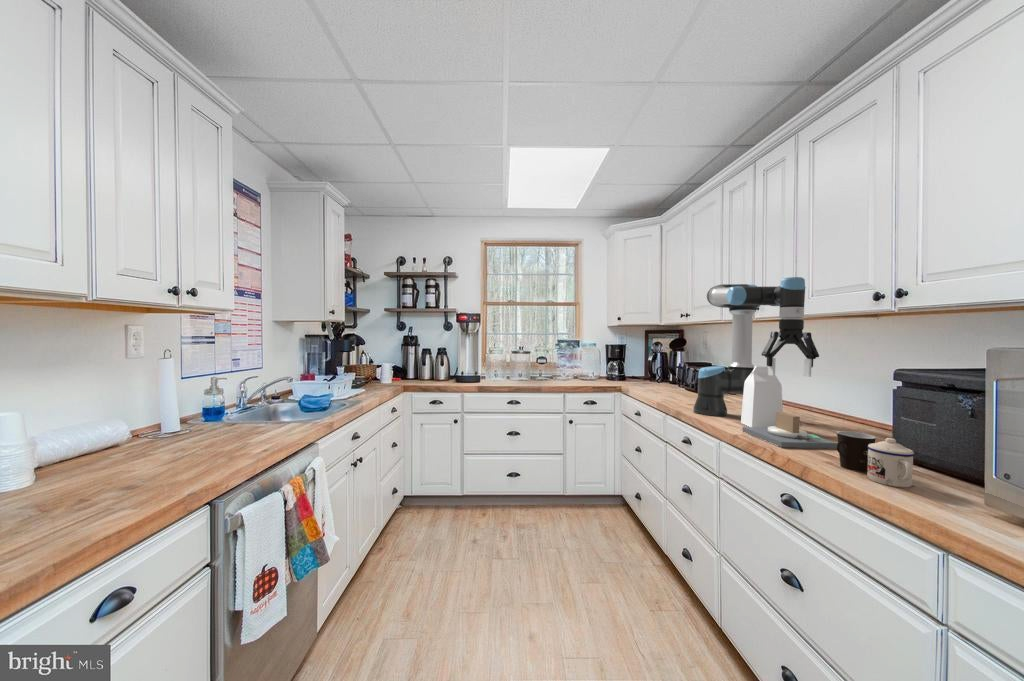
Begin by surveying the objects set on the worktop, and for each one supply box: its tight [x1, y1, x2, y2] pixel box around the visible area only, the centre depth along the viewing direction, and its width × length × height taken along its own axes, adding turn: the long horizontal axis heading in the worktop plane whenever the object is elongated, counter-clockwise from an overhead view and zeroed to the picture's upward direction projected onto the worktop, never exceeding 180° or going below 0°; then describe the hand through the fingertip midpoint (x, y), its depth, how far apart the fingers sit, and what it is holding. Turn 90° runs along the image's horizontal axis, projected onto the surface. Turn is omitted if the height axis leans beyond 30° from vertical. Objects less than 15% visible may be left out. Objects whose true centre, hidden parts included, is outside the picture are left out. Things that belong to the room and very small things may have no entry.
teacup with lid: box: [866, 437, 915, 488], centre depth 103 cm, size 12×9×12 cm
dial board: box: [742, 426, 838, 449], centre depth 146 cm, size 22×20×2 cm
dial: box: [768, 411, 809, 440], centre depth 144 cm, size 16×12×8 cm
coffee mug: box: [836, 430, 877, 473], centre depth 115 cm, size 12×9×10 cm
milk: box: [740, 365, 784, 427], centre depth 168 cm, size 12×12×26 cm
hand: (789, 375), depth 146 cm, fingers open, 13 cm apart
